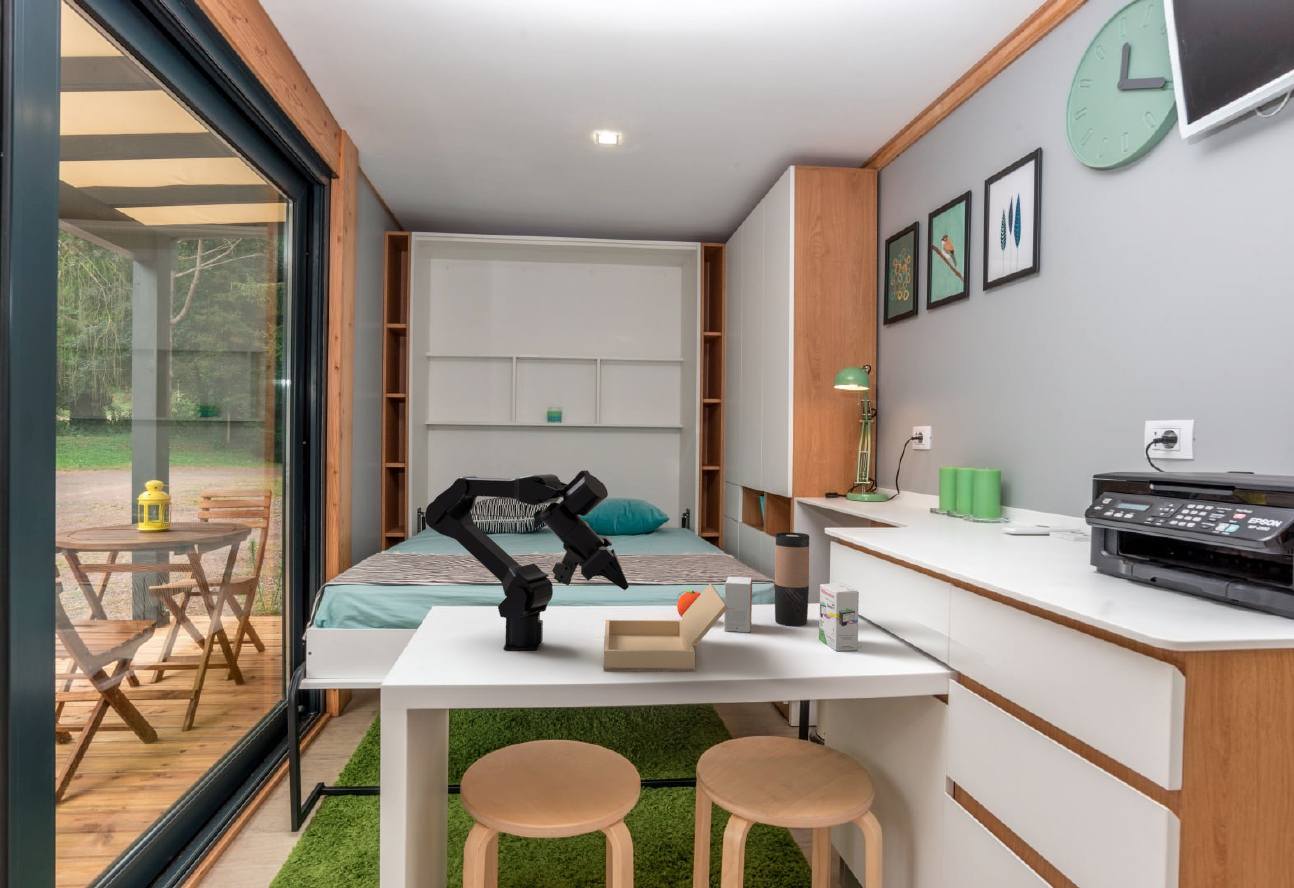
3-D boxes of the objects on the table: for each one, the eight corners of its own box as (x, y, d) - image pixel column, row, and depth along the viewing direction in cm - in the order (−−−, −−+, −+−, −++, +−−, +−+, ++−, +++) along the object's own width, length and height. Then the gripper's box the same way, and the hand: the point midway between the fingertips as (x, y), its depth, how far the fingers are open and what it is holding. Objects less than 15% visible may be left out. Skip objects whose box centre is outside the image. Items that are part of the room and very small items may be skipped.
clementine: (666, 621, 158) (667, 589, 158) (685, 615, 163) (685, 585, 163) (695, 627, 153) (696, 595, 153) (713, 621, 158) (714, 590, 158)
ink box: (817, 639, 145) (818, 582, 145) (840, 638, 146) (841, 582, 146) (835, 651, 137) (836, 591, 137) (859, 650, 137) (860, 590, 138)
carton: (603, 670, 122) (603, 650, 122) (605, 636, 144) (605, 619, 144) (694, 671, 123) (694, 651, 123) (682, 637, 145) (682, 620, 145)
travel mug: (812, 621, 160) (814, 534, 160) (801, 628, 154) (803, 537, 154) (781, 616, 164) (782, 531, 164) (768, 623, 158) (770, 534, 158)
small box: (750, 633, 149) (750, 583, 149) (723, 631, 150) (724, 582, 150) (751, 624, 157) (752, 577, 157) (726, 622, 158) (727, 575, 158)
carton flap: (691, 643, 124) (725, 604, 124) (681, 616, 144) (710, 583, 144) (695, 646, 124) (728, 607, 124) (684, 618, 144) (713, 585, 144)
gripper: (543, 550, 142) (596, 605, 143) (535, 567, 123) (595, 630, 124) (584, 512, 142) (636, 568, 143) (581, 523, 124) (641, 587, 124)
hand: (626, 588), depth 134 cm, fingers closed
